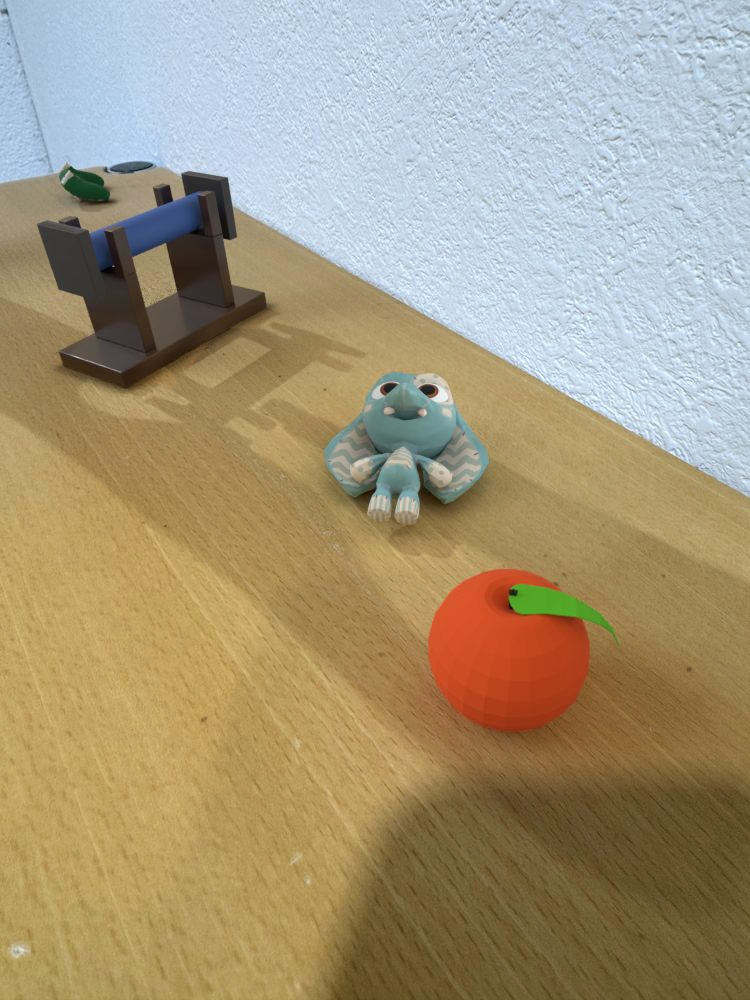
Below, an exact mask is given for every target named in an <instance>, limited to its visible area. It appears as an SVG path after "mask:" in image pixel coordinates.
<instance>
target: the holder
mask: <svg viewBox="0 0 750 1000" xmlns="http://www.w3.org/2000/svg"><path fill="white" fill-rule="evenodd" d="M152 190H153V194H154V199H155V202H156V208H157V207H159V206H162V205H165V204H167V203H170V202H172V201H174V198H173V193H172V189H171V185H170V184H167V183H160V184H157V185H154V186H152ZM197 196H198V201H199V206H200V211H201V216H202V221H203V226H204V230H201V229H197V230H195V231H193V232H190V233H188V234H186V235H183V236H181V237H179V238H176V239H174V240H172V241H169V242H167V243H165V245H166V246H165V247H166V250H167V254H168V259H169V263H170V268H171V271H172V277H173V280H174V285H175V288H176V292H174V293H172V294H170V295H168V296H166V297H164V298H162V299H160V300H158V301H156V302H154V303H152V304H149V305H148V306H146V303H145V300H144V296H143V292H142V289H141V286H140V285H141V284H140V281H139V277H138V273H137V270H136V265H135V263H134V262H135V261H134V259H133V258H134V257H132V254H131V251H130V247H129V243H128V239H127V236H126V232H125V228H124V227H122V226H117V225H115V226H112V227H110V228H107V229H105V230H104V233H105V236H106V240H107V243H108V247H109V250H110V254H111V257H112V261H113V264H114V265H113V266H111V267H109V268H107V269H104V270H102V271H100V272H101V275H102V278H103V282H104V285H105V289H106V292H107V296H108V297H107V298H105V299H103V300H101V301H94V300H91V299H88V298H85V297H82V298H83V301H84V304H85V307H86V310H87V313H88V317H89V319H90V323H91V325H92V329H93V333H92V334H89V335H88V336H86V337H83V338H81V339H79V340H78V341H76V342H74V343H72V344H70V345H68V346H66V347H63V348H61V349H60V350H58V354H59V357H60V359H61V363H62V366H63V367H64V368H67V369H70V370H73V371H76V372H79V373H81V374H84V375H87V376H90V377H93V378H96V379H98V380H101V381H103V382H107V383H110V384H113V385H115V386H118V387H120V388H124V389H128V388H130V387H131V386H133V385H134V384H136V383H138V382H140V381H141V380H143V379H145V378H147V377H148V376H151V375H152V374H154V373H156V372H157V371H159V370H160V369H162V368H164V367H166V366H167V365H169V364H171V363H172V362H174V361H176V360H177V359H180V358H181V357H183V356H184V355H186V354H188V353H190V352H191V351H193V350H195V349H196V348H199V347H200V346H202V345H204V344H205V343H207V342H208V341H209V342H210V340H212V339H214V338H216V337H217V336H219V335H221V334H222V333H224V332H226V331H228V330H229V329H231V328H233V327H234V326H236V325H238V324H240V323H241V322H242V321H243V322H244V321H245V320H246V319H249V318H250V317H251V316H253V315H255V314H257V313H258V312H260V311H262V310H264V309H265V308H267V306H268V305H267V297H266V294H265V293H266V292H264V291H260V290H257V289H252V288H248V287H244V286H239V285H235V284H232V279H231V275H230V269H229V263H228V257H227V252H226V247H225V241H224V240H225V239H223V235H222V230H221V224H220V219H219V213H218V208H217V202H216V196H215V192H212V191H204V192H202V193H199V194H197ZM57 223H61V224H65V225H69V226H74V227H78V228H82V226H81V222H80V219H79V217H77V216H73V215H69V216H65V217H63V218H60V219H58V222H57Z"/></svg>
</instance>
